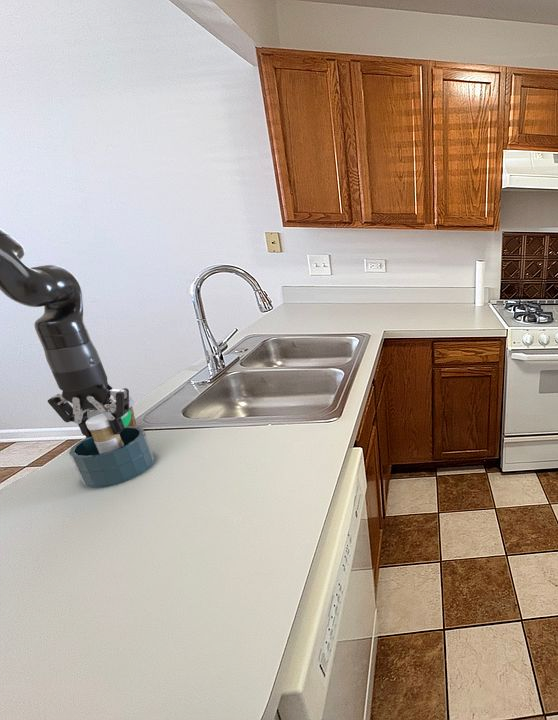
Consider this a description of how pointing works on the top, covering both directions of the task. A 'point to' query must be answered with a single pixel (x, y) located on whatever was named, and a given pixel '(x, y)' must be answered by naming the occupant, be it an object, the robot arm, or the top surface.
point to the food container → (126, 418)
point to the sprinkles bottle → (103, 434)
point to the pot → (113, 459)
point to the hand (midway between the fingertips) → (105, 433)
